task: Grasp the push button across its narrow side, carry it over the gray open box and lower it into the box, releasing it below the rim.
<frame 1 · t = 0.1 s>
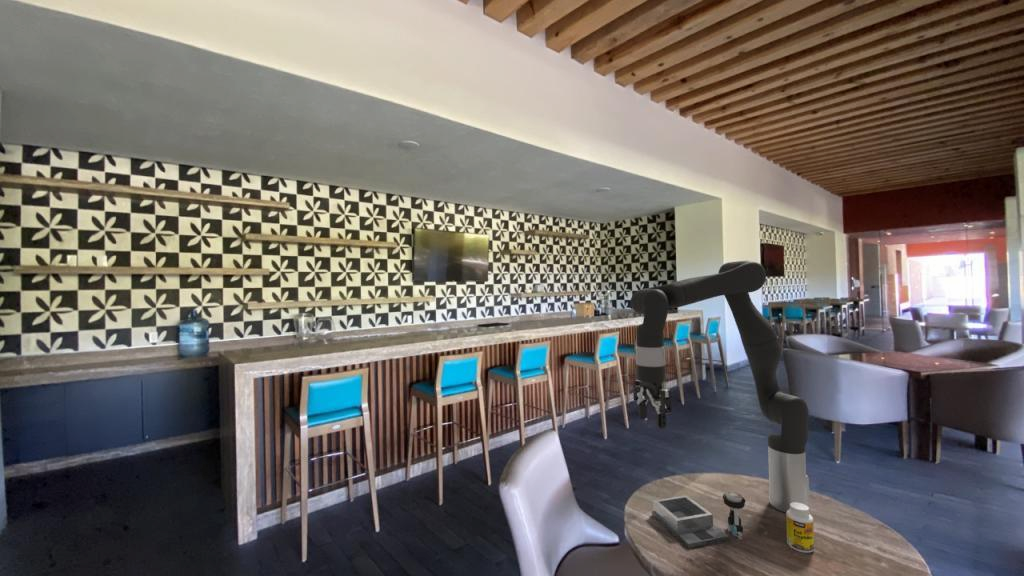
hand: (652, 422, 110), 29 cm above the table, fingers open, 8 cm apart
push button: (735, 534, 108), on the table
supplement bottle: (800, 547, 102), on the table
gray open box: (688, 527, 112), on the table
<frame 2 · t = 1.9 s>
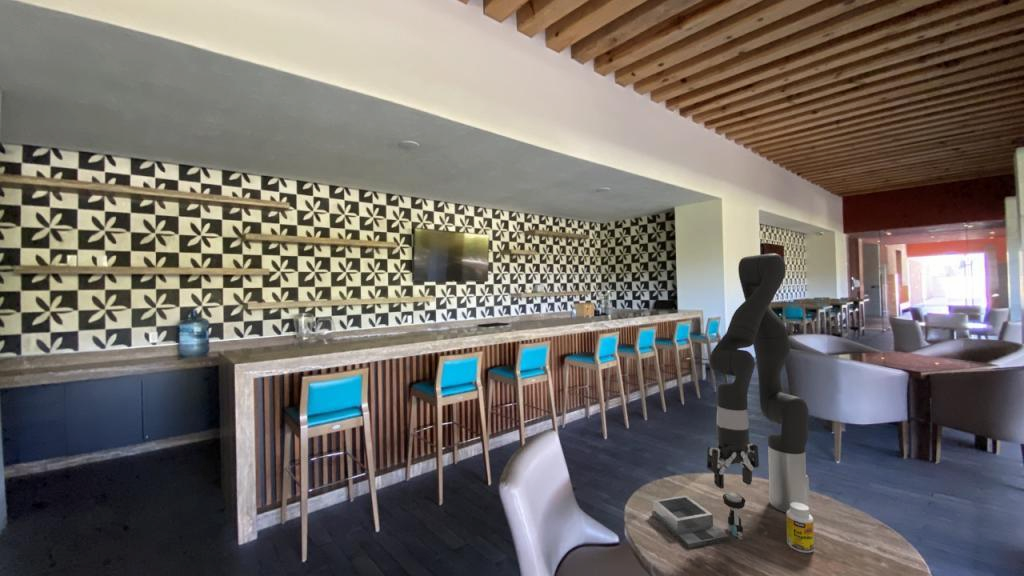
hand: (733, 485, 109), 13 cm above the table, fingers open, 8 cm apart
nothing on the table moved.
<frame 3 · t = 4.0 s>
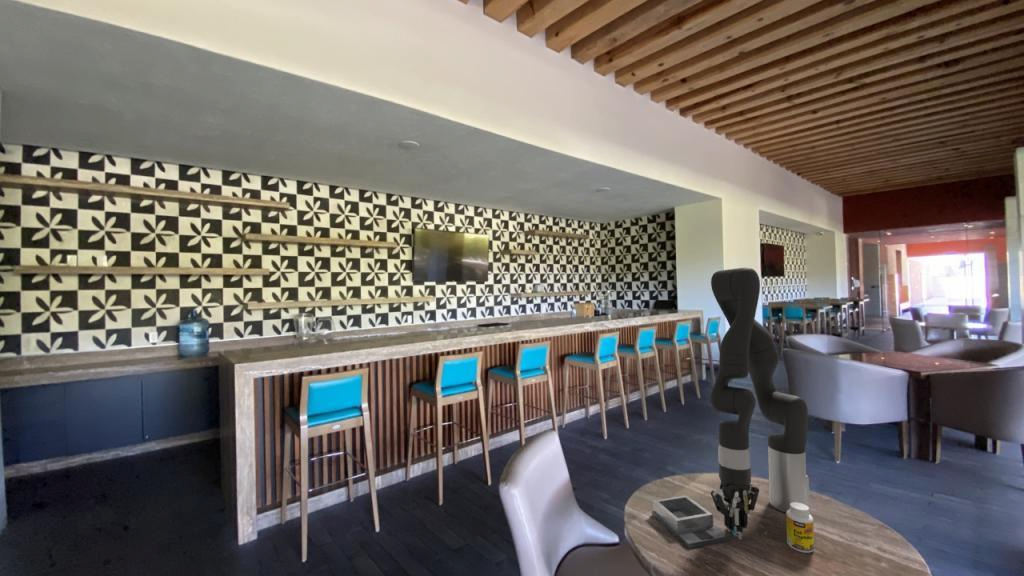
hand: (736, 527, 108), 2 cm above the table, fingers closed on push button, 3 cm apart
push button: (735, 534, 108), on the table, touching gripper
everything else where it was.
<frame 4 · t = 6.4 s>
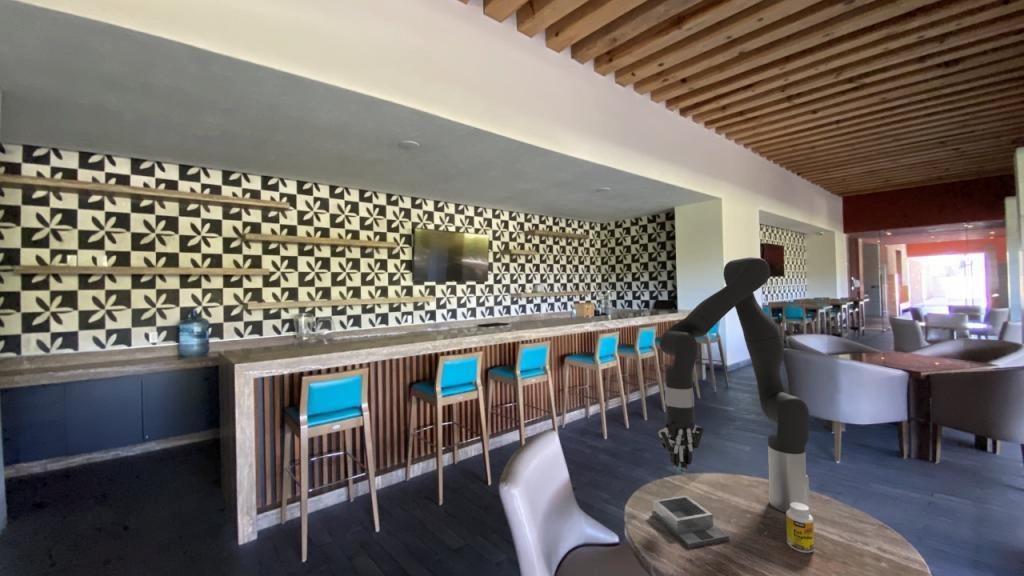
hand: (681, 464, 114), 16 cm above the table, fingers closed on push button, 3 cm apart
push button: (680, 471, 114), point 14 cm above the table, touching gripper
everything else where it was.
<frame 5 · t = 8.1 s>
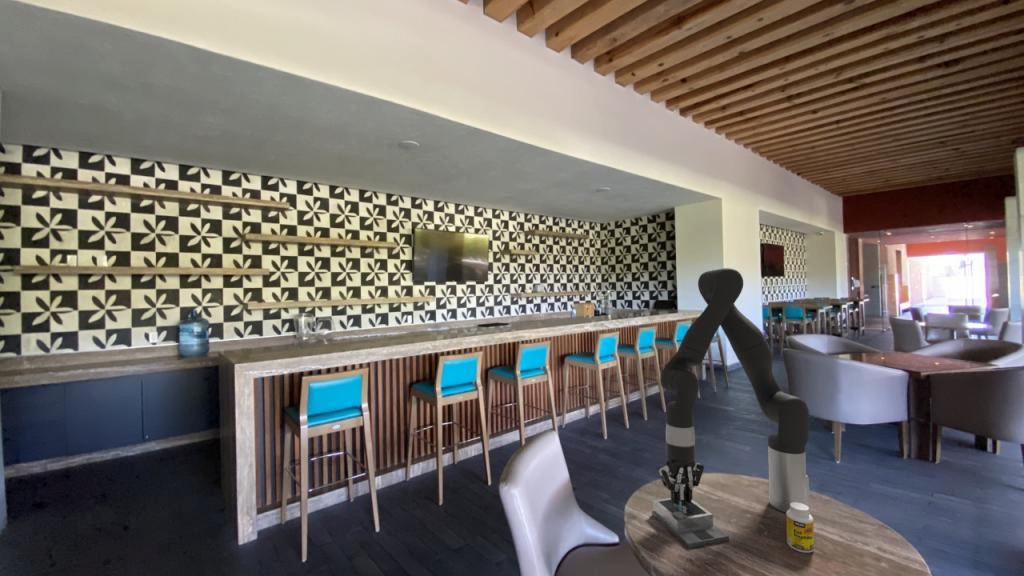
hand: (681, 502, 114), 6 cm above the table, fingers closed on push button, 3 cm apart
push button: (681, 509, 114), point 4 cm above the table, touching gripper
everything else where it was.
when the fingers open (5 cm above the table, at t = 9.0 s): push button drops 2 cm, resting on gray open box.
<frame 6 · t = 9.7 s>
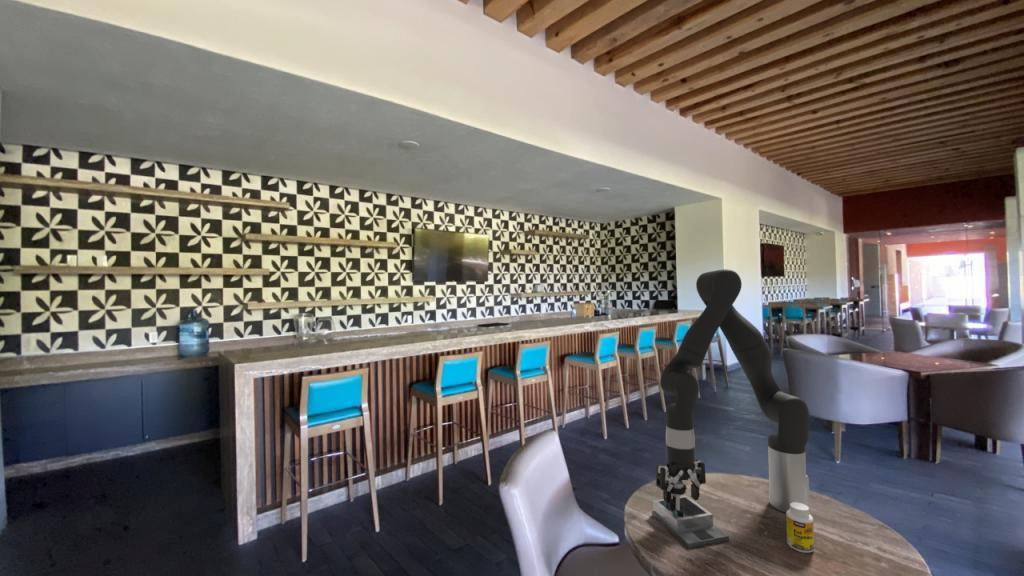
hand: (681, 501, 114), 6 cm above the table, fingers open, 8 cm apart
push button: (676, 519, 114), point 1 cm above the table, touching gripper, gray open box
everything else where it was.
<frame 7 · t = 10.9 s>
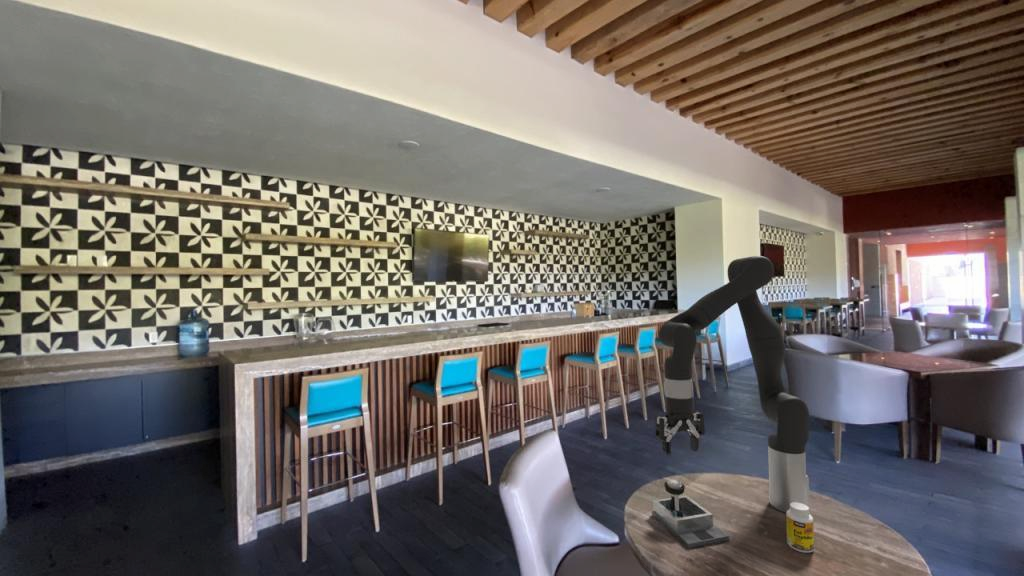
hand: (680, 452, 114), 20 cm above the table, fingers open, 8 cm apart
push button: (676, 519, 114), point 1 cm above the table, touching gray open box
everything else where it was.
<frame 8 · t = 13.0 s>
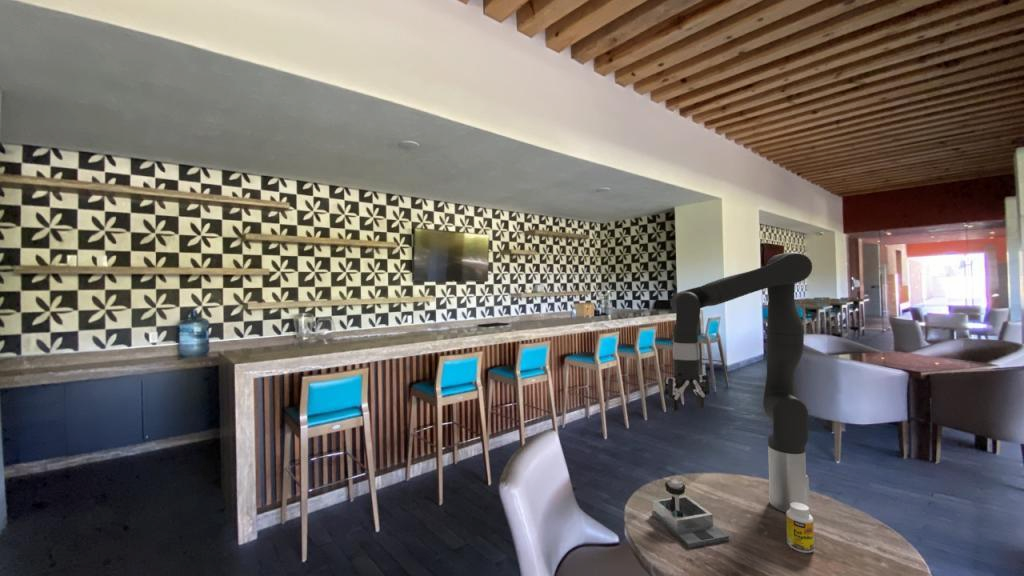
hand: (687, 410, 125), 28 cm above the table, fingers open, 8 cm apart
nothing on the table moved.
at the end: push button 1.8 cm from the target spot on the gray open box, point 1.0 cm above the gray open box's base; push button tilted 0°; the gripper is holding nothing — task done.
